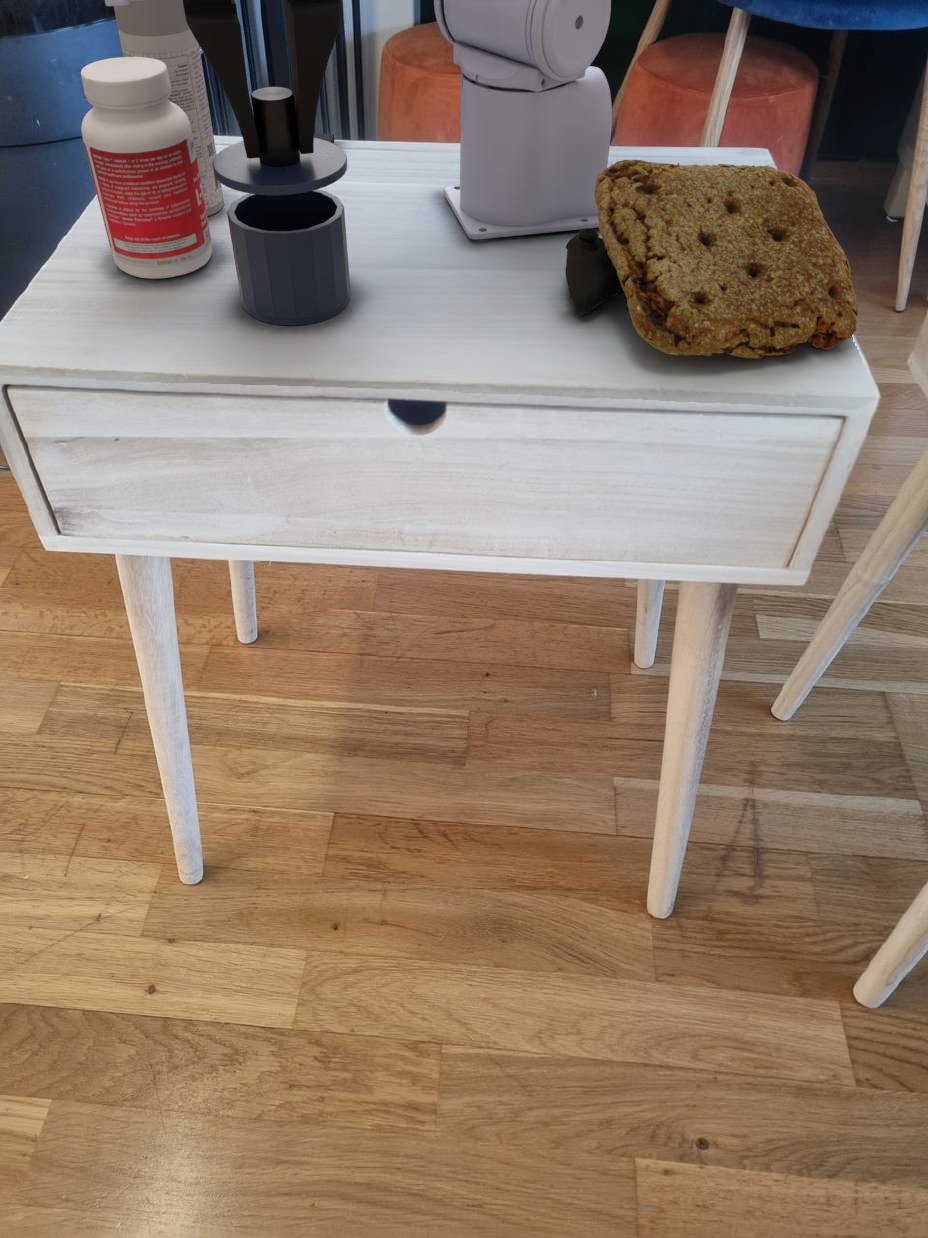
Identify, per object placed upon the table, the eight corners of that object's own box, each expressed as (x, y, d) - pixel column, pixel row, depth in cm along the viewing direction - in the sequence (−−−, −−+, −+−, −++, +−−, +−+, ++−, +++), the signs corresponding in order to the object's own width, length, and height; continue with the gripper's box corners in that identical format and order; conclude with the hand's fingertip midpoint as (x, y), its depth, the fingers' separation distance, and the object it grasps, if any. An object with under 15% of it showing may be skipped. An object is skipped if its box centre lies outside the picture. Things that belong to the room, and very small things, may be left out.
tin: (356, 275, 61) (349, 187, 58) (342, 327, 57) (334, 235, 53) (254, 272, 62) (241, 184, 58) (232, 323, 57) (216, 231, 53)
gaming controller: (577, 314, 57) (570, 222, 56) (554, 322, 61) (547, 237, 60) (720, 299, 58) (716, 209, 57) (687, 308, 63) (682, 225, 62)
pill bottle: (229, 266, 62) (197, 73, 54) (135, 291, 60) (87, 93, 52) (191, 230, 66) (155, 44, 58) (100, 252, 63) (51, 61, 55)
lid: (355, 156, 57) (350, 72, 54) (338, 209, 52) (331, 119, 48) (231, 153, 57) (218, 69, 54) (202, 205, 52) (186, 115, 49)
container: (185, 186, 71) (139, -64, 60) (238, 200, 69) (199, -55, 58) (141, 210, 68) (83, -49, 57) (194, 225, 66) (145, -38, 56)
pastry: (896, 272, 60) (926, 235, 58) (772, 443, 53) (800, 410, 50) (667, 115, 62) (686, 72, 59) (514, 259, 54) (528, 217, 52)
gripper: (386, -190, 47) (397, 112, 57) (72, -183, 45) (139, 132, 55) (416, -167, 43) (423, 158, 52) (66, -158, 40) (141, 182, 50)
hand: (279, 149), depth 53 cm, fingers closed on lid, 2 cm apart
